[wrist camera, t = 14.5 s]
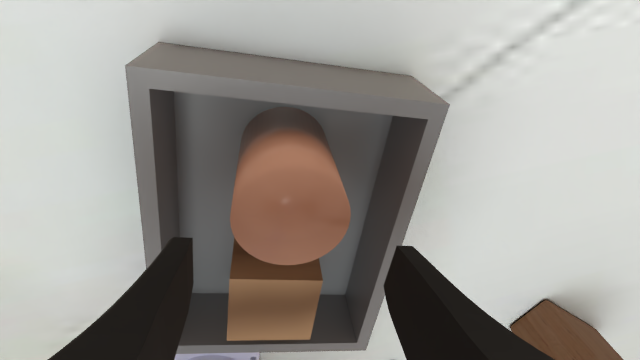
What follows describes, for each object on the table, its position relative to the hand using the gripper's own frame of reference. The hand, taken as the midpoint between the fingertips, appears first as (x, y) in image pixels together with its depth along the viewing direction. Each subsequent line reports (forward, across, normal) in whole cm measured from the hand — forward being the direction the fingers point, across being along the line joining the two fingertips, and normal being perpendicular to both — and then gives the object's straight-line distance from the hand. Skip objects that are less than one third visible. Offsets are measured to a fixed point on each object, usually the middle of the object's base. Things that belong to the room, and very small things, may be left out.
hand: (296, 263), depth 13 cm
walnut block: (+10, 0, +8) cm, 12 cm away
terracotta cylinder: (+10, 0, 0) cm, 10 cm away
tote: (+10, 0, +4) cm, 11 cm away
